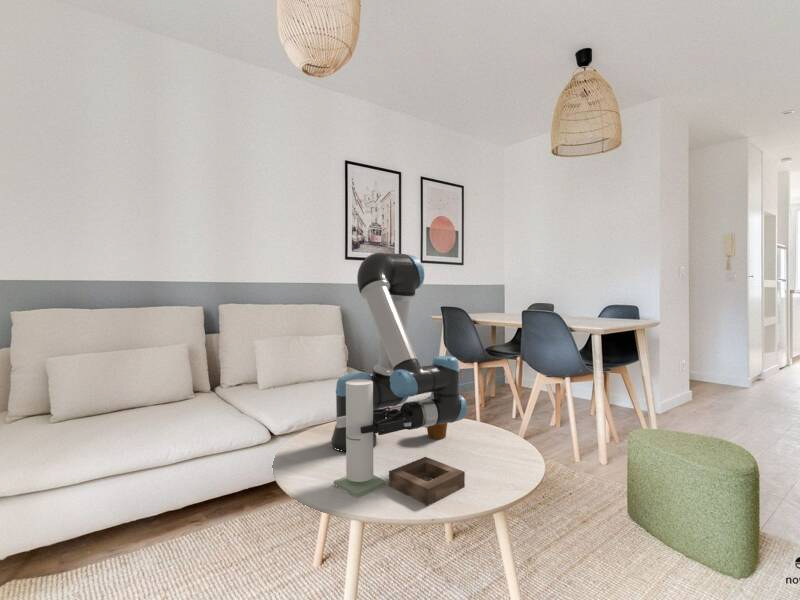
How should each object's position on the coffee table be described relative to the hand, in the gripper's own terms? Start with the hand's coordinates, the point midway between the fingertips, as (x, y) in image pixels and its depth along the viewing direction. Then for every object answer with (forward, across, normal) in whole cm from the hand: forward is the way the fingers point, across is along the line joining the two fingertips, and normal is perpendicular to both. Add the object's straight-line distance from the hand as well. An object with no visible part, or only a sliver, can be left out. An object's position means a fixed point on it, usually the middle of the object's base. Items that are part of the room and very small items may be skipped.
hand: (342, 426), depth 109 cm
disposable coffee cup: (-44, +22, -16) cm, 51 cm away
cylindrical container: (-5, 0, -14) cm, 15 cm away
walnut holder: (-20, -10, -16) cm, 27 cm away
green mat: (-5, 0, -16) cm, 17 cm away
